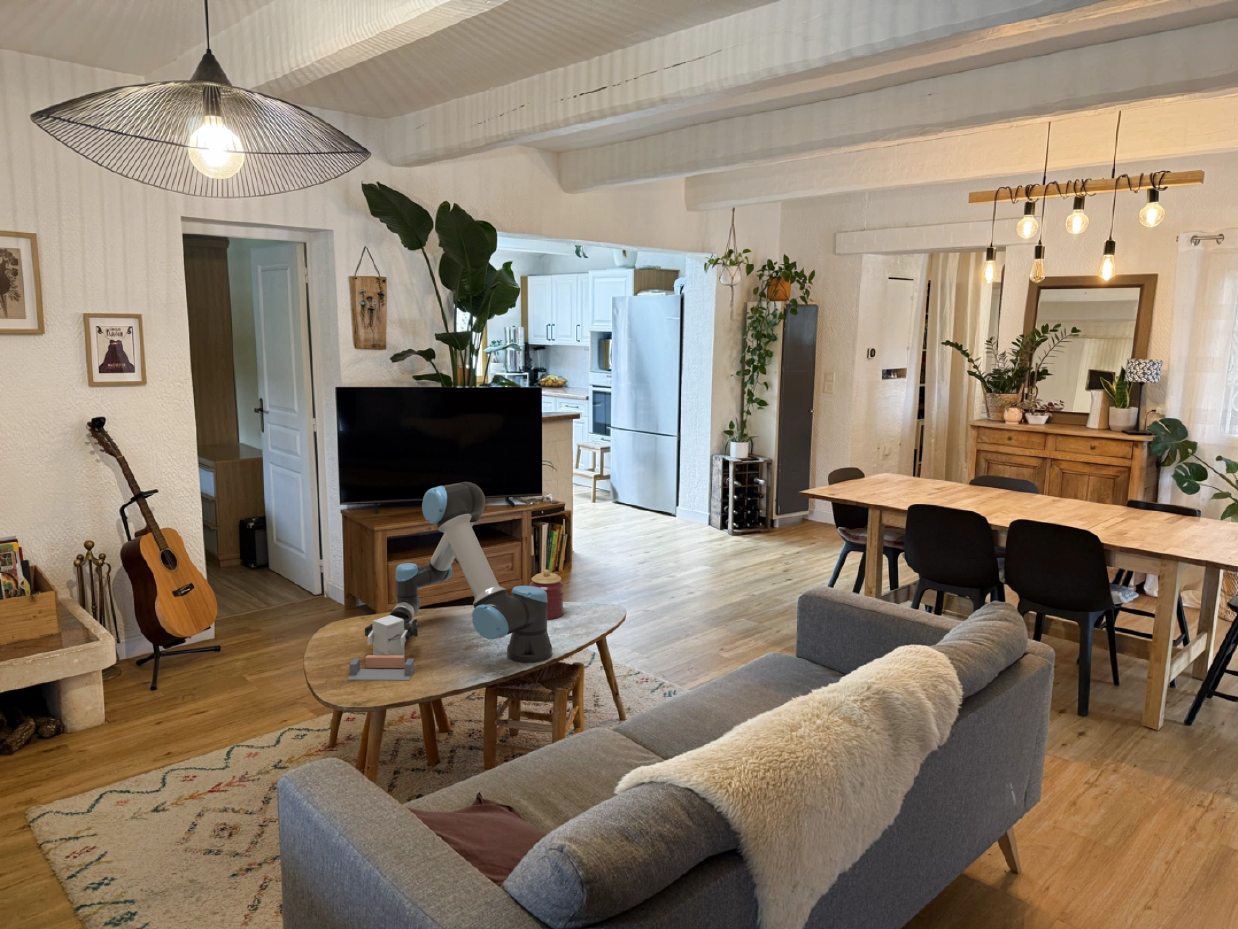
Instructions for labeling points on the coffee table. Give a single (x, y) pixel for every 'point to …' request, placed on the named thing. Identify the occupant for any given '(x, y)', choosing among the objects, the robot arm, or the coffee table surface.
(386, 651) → the supplement box
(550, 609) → the canister
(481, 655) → the coffee table surface
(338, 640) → the coffee table surface
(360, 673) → the housing
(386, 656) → the pink eraser brick
